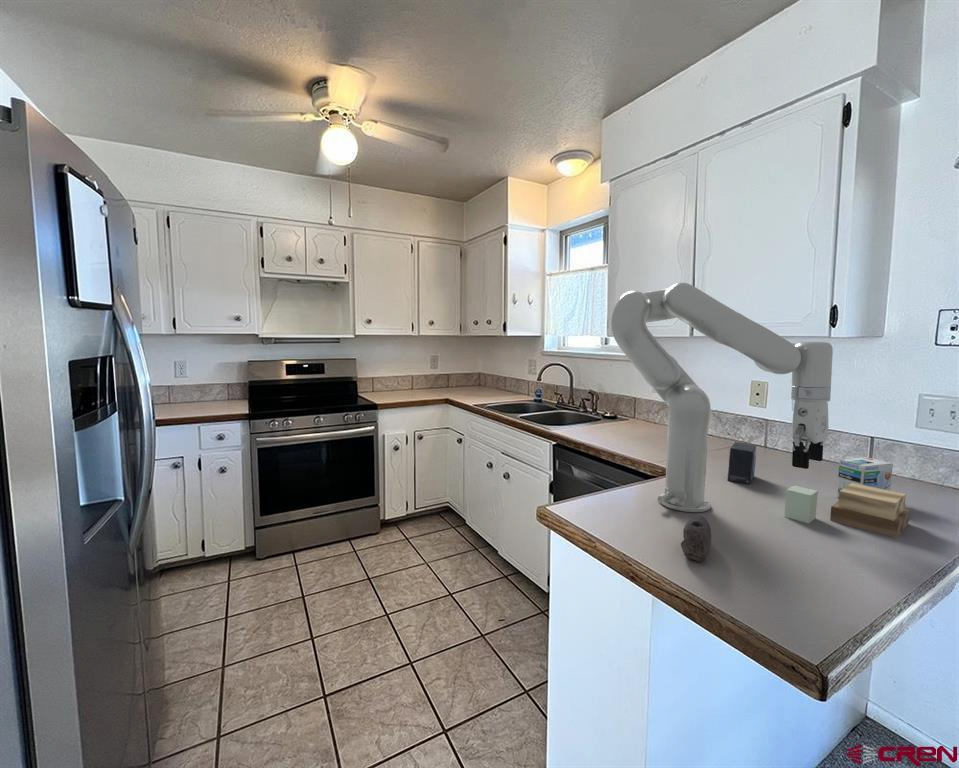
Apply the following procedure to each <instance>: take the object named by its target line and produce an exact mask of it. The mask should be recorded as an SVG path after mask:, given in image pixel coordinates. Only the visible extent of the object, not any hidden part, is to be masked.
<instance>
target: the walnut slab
mask: <svg viewBox="0 0 959 768" xmlns="http://www.w3.org/2000/svg"><path fill="white" fill-rule="evenodd" d="M838 502H839V500H837V502H835V503H834V504H833V505H832V506H830V515H829V516H830V517H829V520H830V521H832V522H835V523H838V524H839V523H840V524H843V525H847V526H850V527H854V528H858V529H863V530H865V531H869V532H873V533H877V534H880V535H885V536H889V537H892V538H896V539H897V538H898V537H899V536H900V535H901V534H902V532H903V531H904V530H905V528H906V527H907V526H908V525H909V517H910V509H907V508H904V511H903V512H902V513H901V514H900V515H899V516H898V517H897V518H896V519H895V520H894V521H892V520H888V519H884V518H880V517H876V516H872V515H868V514H864V513H860V512H856V511H852V510H848V509H844V508H840V507H838Z"/></svg>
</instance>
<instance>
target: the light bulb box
mask: <svg viewBox="0 0 959 768" xmlns="http://www.w3.org/2000/svg"><path fill="white" fill-rule="evenodd" d="M838 465H839V466H838V475H837V477H838V478H837V488H836V498H839V491H840V490H842V489H843V488H845V487H846V486H848V485H849V484H851V483H856V484H861V485H866V486H871V487H876V488H880V489H885V490H890V491H891V485H892V476H893V467H894V463H892V462H888V461H885V460H879V459H876V458H873V457H868V456H864V457H855V458H854V457H852V458H847V459H846V458H843V459H839V464H838Z"/></svg>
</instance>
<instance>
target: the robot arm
mask: <svg viewBox="0 0 959 768" xmlns="http://www.w3.org/2000/svg"><path fill="white" fill-rule="evenodd" d="M611 315H612V316H611V319H610V321H611V323H610V324H611V332H612V335H613V338H614V340H615V342H616V344H617V346H618V347H619V348H620V350H621V351H622V352H623V354H625V356H626V357H627V359H628V360H629V361H630V362H631V364H632V366H634V367H635V369H636V370H637V371H638V372H639V373H640V375H641V376H642V378H643V380H644V381H645V383H646V384H647V385H649V386H650V387H652V389H653V390H654V391H655V393H656V394H657V395H658V396H659V397H660V399H661V400H662V401H663V402H664V403H665V404H666V405H667V406H668V418H667V419H668V421H667V437H666V438H667V439H666V463H665V464H666V465H665V484H664V485H665V487H664V492H662V493H660V494H659V495H658V496H657V501H658V502H659V503H660V504H661V505H662V506H664V507H667V508H669V509H671V510H675V511H680V512H685V513H703V512H707V511H708V510H710V508H711V507H712V506H711V505H712V504H711V502H710V500H709V499H707V498H706V497H705V493H706V491H705V490H706V474H707V473H706V472H707V457H708V456H707V454H708V434H709V426H710V419H711V410H712V409H711V402H710V399H709V396H708V395H707V394H706V392H705V391H704V390H703V389H702V388H700V386H698V385H697V383H696V382H695V381H694V380H693V378H691V376H690V375H689V374H688V373H687V372H686V371H685V369H683V367H682V366H681V364H680V363H679V362H678V361H677V359H675V357H674V356H672V355H671V354H669V352H667V351H666V349H665V348H664V347H663V346H662V345H661V343H659V341H658V340H657V339H656V337H654V335H653V334H652V333H651V332H650V330H649V329H648V327H647V323H653V322H659V321H666V320H671V319H676V318H677V319H679V320H680V321H682V322H683V323H685V324H687V325H688V326H690V327H691V328H693V329H694V330H696V331H697V332H699V333H701V335H704V336H705V337H707V338H709V339H710V340H712V341H714V342H715V343H718V344H721V345H723V346H726V347H729V348H731V349H733V350H735V351H737V352H738V353H740V354H743V355H744V356H746V357H748V358H749V359H751V360H752V361H754V364H755V366H757V368H758V369H760V370H762V371H764V372H767V373H772V374H776V375H787V374H790V373H791V397H790V399H791V400H792V401H794V404H793V411H792V412H793V414H792V425H791V439H792V440H793V441H792V454H791V455H792V456H791V457H792V458H791V459H792V460H791V465H792V467H794V468H798V469H803V470H804V469H805V470H807V469H809V468H810V461H817V462H822V461H823V460H824V459H823V456H824V441H825V440H826V439H828V438H829V403H828V402H831V393H832V375H833V374H832V373H833V353H834V350H833V349H834V348H833V346H832V344H831V343H830V342H827V341H805V342H804V341H800V342H798V343H795V342H794V343H792V342H790V341H789V340H787V339H786V338H784V337H782V336H780V335H779V334H777V333H775V332H774V331H772V330H770V329H769V328H767V327H765V326H764V325H762V324H759V323H758V322H756V321H754V320H752V319H750V318H748V317H746V316H745V315H744V314H742V313H739V312H737V311H736V310H734V309H732V308H730V307H729V306H727V305H726V304H724V303H722V302H720V301H719V300H717V299H716V298H714V297H712V296H710V295H709V294H707V293H706V292H704V291H702V290H701V289H699V288H698V287H695V286H694V285H692V284H690V283H687V282H678V283H677V282H676V283H674V284H673V285H671V286H670V287H668V288H663V289H660V290H659V289H658V290H654V291H648V292H642V291H638V290H630V291H627V292H625V293H623V294H622V295H621V296H620V298H619V299H618V300H617V302H616V304H615V306H614V308H613V311H612V314H611Z"/></svg>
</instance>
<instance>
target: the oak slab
mask: <svg viewBox="0 0 959 768" xmlns="http://www.w3.org/2000/svg"><path fill="white" fill-rule="evenodd" d="M906 495H907V493H904V492H898V491H894V490H891V489H890V490H885V489H880V488H876V487H871V486H866V485H861V484H856V483H851V484H849V485H848V486H846V487H845V488H843V489H842V490H840V491H839V497H838V501H839V502H838V501H837V502H838V507H840V508H844V509H848V510H852V511H856V512H860V513H864V514H868V515H872V516H876V517H880V518H884V519H888V520H892V521H894V520H895V519H896V518H897V517H898V516H899V515H900V514H901V513H902V512H903V511H904V509H906V507H905V506H906V498H907V496H906Z"/></svg>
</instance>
